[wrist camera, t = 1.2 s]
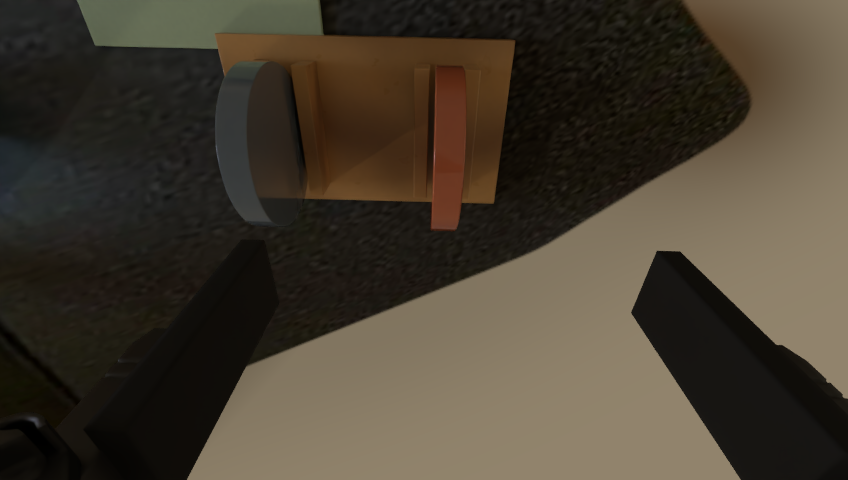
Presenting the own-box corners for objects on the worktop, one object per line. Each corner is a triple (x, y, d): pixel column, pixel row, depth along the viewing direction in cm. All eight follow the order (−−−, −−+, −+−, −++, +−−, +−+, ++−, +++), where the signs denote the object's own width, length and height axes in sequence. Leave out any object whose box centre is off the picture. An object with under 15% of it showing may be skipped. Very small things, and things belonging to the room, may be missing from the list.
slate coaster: (272, 51, 25) (191, 74, 17) (296, 52, 25) (227, 75, 17) (296, 187, 30) (244, 257, 22) (316, 187, 30) (271, 258, 22)
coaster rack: (222, 32, 26) (193, 35, 23) (512, 39, 26) (523, 43, 22) (260, 191, 32) (241, 211, 29) (491, 197, 32) (498, 218, 29)
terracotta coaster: (434, 55, 25) (436, 79, 17) (458, 55, 25) (472, 80, 17) (430, 191, 30) (429, 261, 22) (450, 191, 30) (457, 262, 22)
